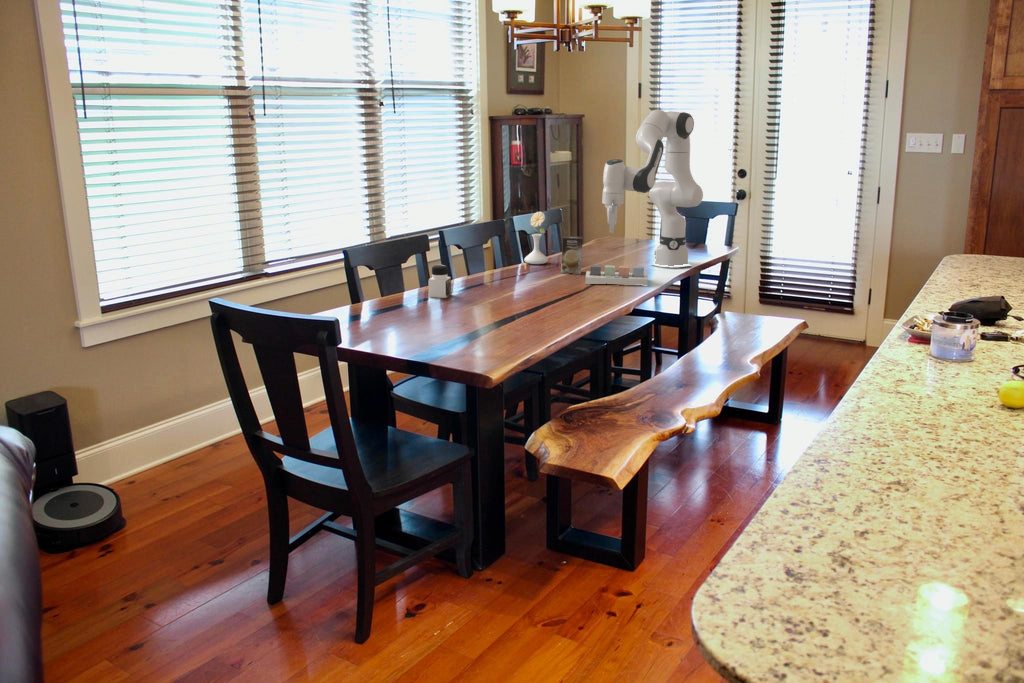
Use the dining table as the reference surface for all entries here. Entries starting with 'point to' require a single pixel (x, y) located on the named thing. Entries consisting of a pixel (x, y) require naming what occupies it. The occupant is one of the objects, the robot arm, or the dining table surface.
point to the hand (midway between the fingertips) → (611, 232)
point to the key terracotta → (623, 271)
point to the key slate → (638, 271)
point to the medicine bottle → (439, 282)
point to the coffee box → (571, 254)
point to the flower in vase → (536, 241)
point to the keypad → (616, 279)
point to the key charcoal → (595, 270)
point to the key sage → (609, 270)
